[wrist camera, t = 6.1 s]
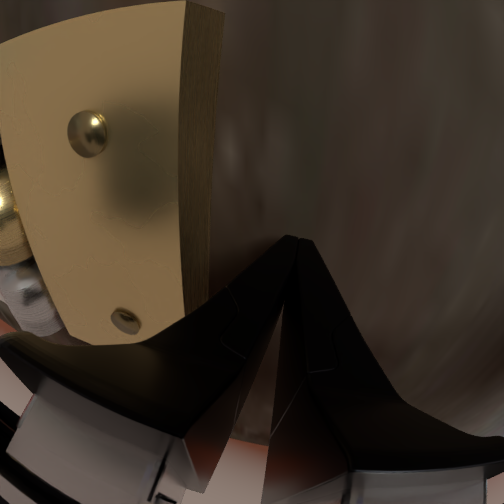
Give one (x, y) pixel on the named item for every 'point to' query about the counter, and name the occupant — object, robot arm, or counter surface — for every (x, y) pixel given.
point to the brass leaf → (113, 164)
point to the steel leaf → (29, 297)
